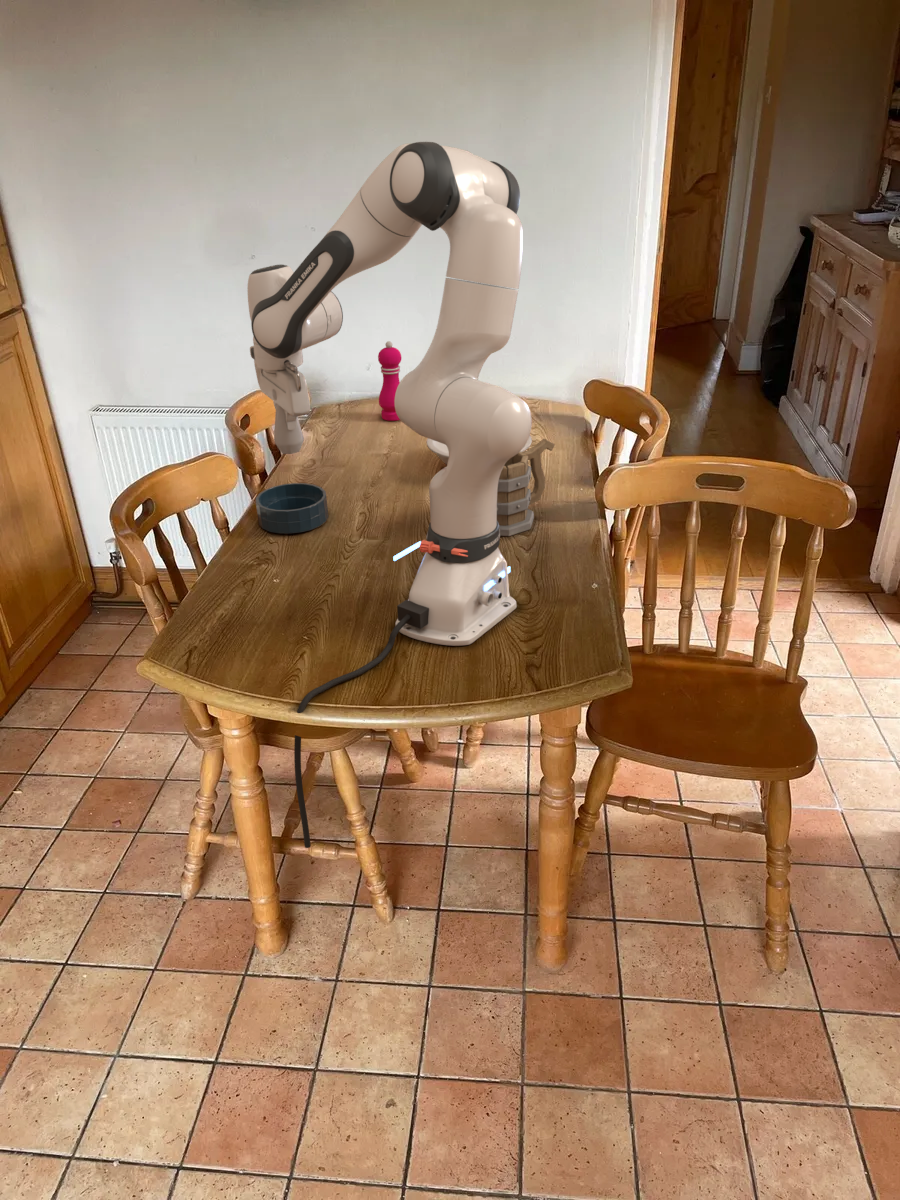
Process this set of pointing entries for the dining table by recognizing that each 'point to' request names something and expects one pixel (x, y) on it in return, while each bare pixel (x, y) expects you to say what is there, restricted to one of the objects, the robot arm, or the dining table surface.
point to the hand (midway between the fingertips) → (287, 425)
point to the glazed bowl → (292, 508)
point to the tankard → (520, 489)
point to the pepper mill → (389, 380)
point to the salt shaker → (286, 432)
